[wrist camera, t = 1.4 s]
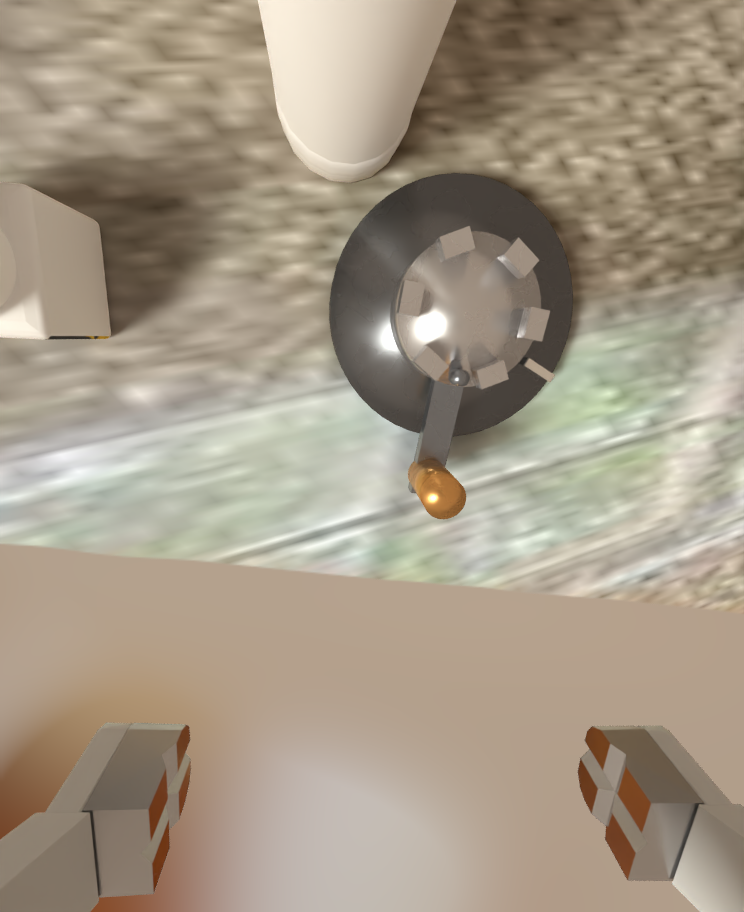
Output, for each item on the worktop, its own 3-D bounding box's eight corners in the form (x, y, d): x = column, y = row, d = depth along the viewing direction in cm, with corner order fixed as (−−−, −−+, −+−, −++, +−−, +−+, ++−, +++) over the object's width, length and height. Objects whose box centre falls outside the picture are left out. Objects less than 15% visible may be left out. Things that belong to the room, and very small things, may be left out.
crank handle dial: (404, 228, 27) (427, 197, 21) (534, 258, 28) (590, 237, 22) (359, 476, 31) (367, 509, 25) (475, 492, 33) (509, 527, 27)
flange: (285, 249, 28) (283, 244, 27) (518, 135, 28) (530, 123, 26) (389, 468, 33) (392, 475, 32) (588, 373, 33) (601, 375, 31)
